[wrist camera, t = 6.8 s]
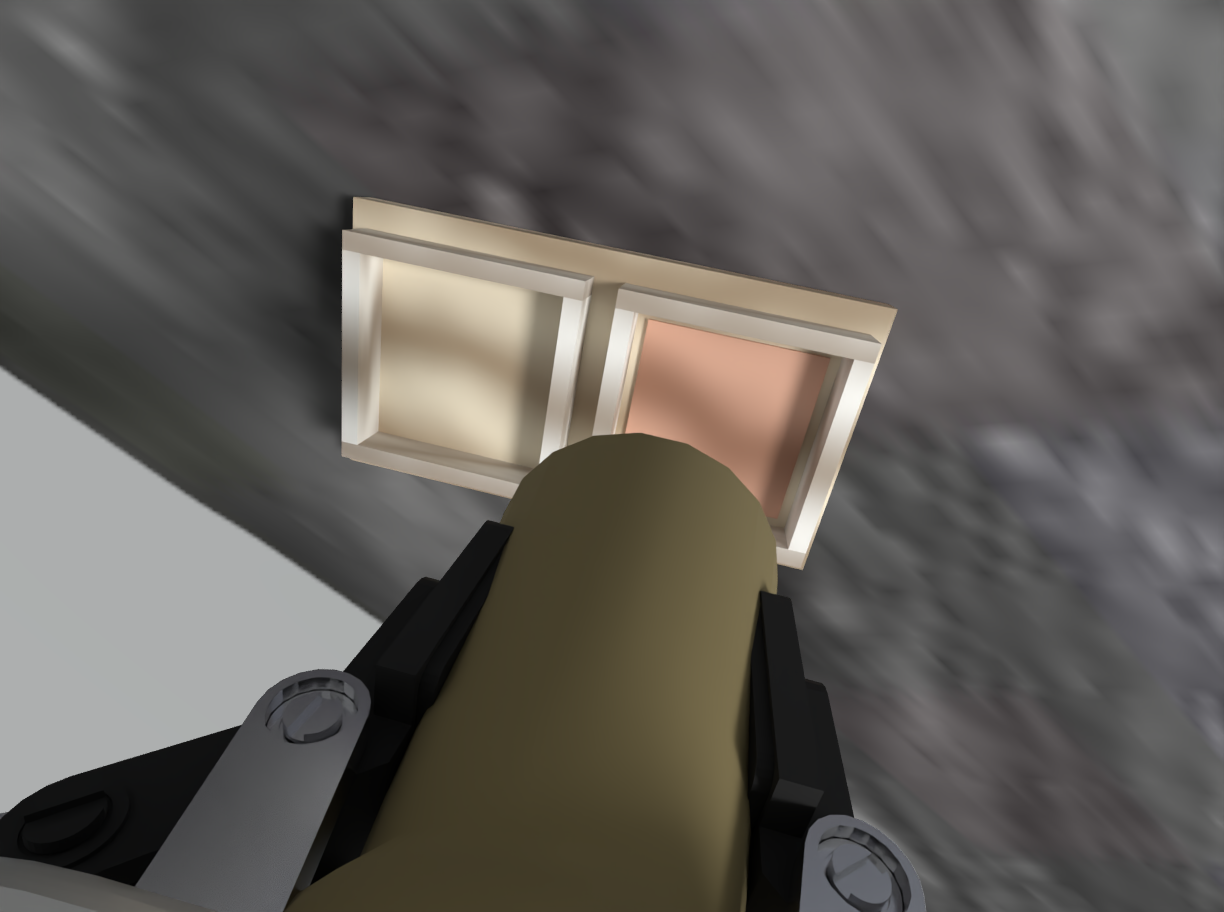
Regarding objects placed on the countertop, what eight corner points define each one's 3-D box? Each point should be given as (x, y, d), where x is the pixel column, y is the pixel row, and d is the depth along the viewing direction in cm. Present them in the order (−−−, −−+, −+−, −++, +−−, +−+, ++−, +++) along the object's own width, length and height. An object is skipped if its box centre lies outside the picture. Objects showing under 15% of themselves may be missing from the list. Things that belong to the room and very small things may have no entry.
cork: (760, 694, 14) (855, 1956, 4) (504, 657, 15) (36, 1609, 5) (798, 446, 12) (1267, 1929, 2) (493, 420, 13) (-451, 1273, 2)
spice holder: (370, 197, 29) (326, 196, 25) (888, 304, 27) (911, 317, 23) (365, 449, 34) (328, 474, 31) (799, 554, 32) (807, 593, 29)
